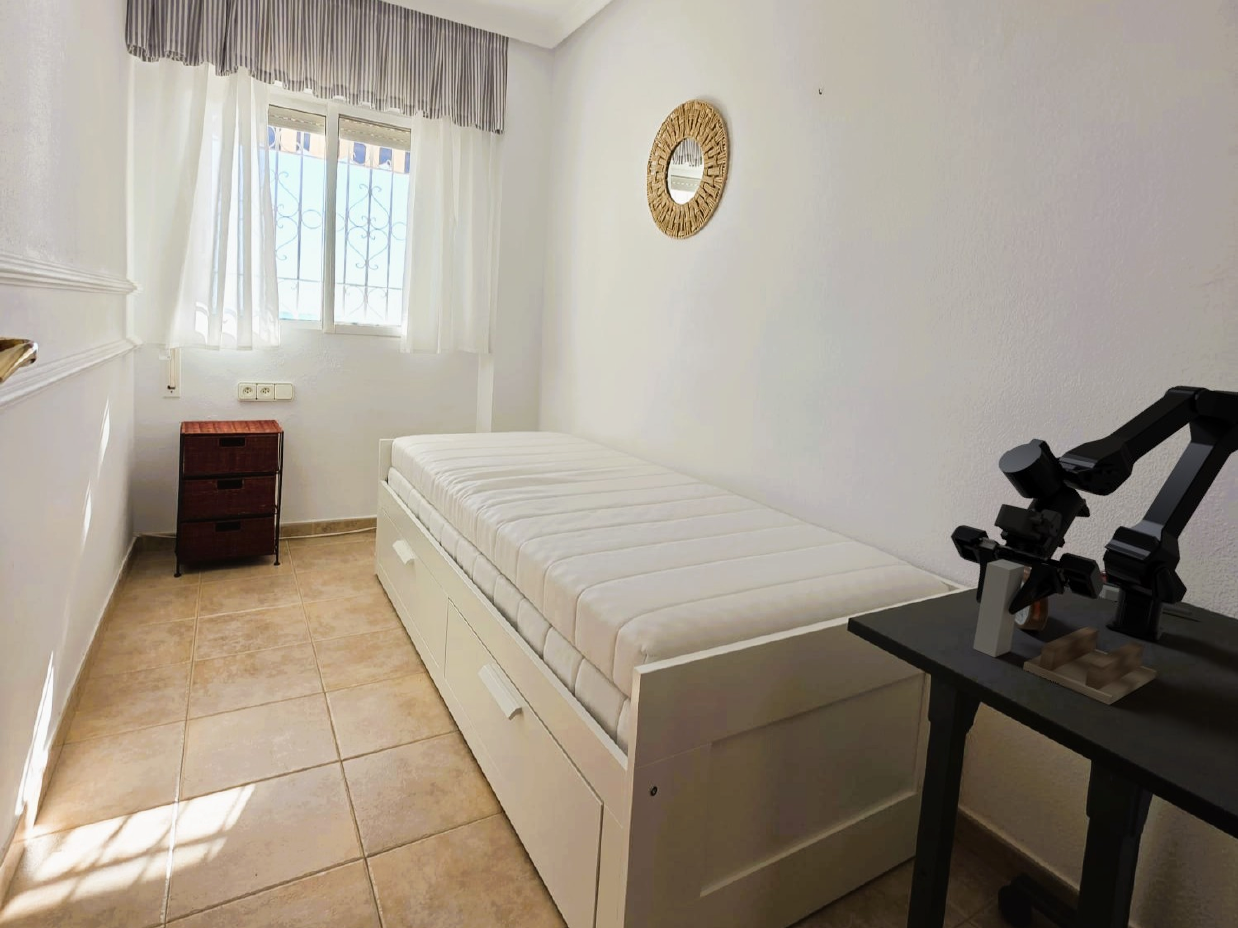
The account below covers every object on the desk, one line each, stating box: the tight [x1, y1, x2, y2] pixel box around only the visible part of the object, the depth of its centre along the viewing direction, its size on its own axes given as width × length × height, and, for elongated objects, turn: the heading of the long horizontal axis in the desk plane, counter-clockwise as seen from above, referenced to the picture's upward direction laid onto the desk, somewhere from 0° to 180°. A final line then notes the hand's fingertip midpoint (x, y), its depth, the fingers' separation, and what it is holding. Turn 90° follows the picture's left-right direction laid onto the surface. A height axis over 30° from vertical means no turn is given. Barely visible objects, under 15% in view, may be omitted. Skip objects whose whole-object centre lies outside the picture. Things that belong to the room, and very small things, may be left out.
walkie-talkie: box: [1064, 568, 1193, 616], centre depth 122 cm, size 9×4×20 cm
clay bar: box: [972, 559, 1025, 658], centre depth 95 cm, size 4×3×12 cm
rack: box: [1022, 625, 1157, 705], centre depth 90 cm, size 14×10×4 cm
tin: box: [1014, 566, 1049, 632], centre depth 108 cm, size 15×3×8 cm, turn 168°
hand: (993, 606), depth 94 cm, fingers open, 4 cm apart
